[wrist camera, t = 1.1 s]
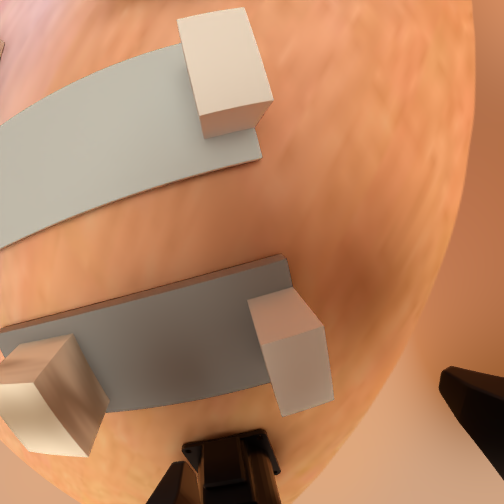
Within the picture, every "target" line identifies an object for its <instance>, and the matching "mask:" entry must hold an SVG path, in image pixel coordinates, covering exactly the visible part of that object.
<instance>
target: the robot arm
mask: <svg viewBox="0 0 504 504" xmlns="http://www.w3.org/2000/svg"><path fill="white" fill-rule="evenodd" d="M439 391H440V393H441V395H442V397H443V398H444V400H445V401H446V403H447V404H448V406H449V407H450V409H451V411H452V412H453V414H454V416H455V417H456V418H457V420H458V421H459V423H460V424H461V425H462V427H463V428H464V429H465V430H466V432H467V433H468V434H469V435H470V437H471V438H472V439H473V440H474V442H475V443H476V444H477V446H478V447H479V448H480V449H481V450H482V452H483V453H484V455H485V456H486V457H487V459H488V460H489V461H490V463H491V464H492V465H493V467H494V468H495V469H496V471H497V472H498V473H499V475H500V476H501V477H502V479H503V480H504V377H499V376H494V375H489V374H484V373H480V372H476V371H471V370H467V369H462V368H458V367H454V366H450V367H448V368H446V369H444V370H443V371H442V372H441V376H440V382H439ZM182 452H183V454H184V455H185V457H186V458H187V459H188V461H189V462H190V463H191V465H192V466H193V467H194V469H195V470H196V471H197V473H198V483H197V478H196V475H195V473H194V472H193V470H192V469H191V468H190V466H189V465H188V464H187V463H186V462H185V461H178V462H173V463H172V464H171V466H170V467H169V469H168V470H167V472H166V474H165V475H164V477H163V478H162V480H161V481H160V483H159V484H158V486H157V487H156V489H155V490H154V492H153V493H152V495H151V496H150V498H149V499H148V501H147V502H146V504H281V500H280V497H279V493H278V489H277V485H276V481H275V477H274V475H277V474H279V473H280V472H281V470H280V467H279V464H278V462H277V459H276V457H275V454H274V451H273V449H272V446H271V444H270V441H269V439H268V436H267V433H266V431H264V430H256V431H252V432H248V433H244V434H239V435H234V436H230V437H225V438H220V439H214V440H208V441H203V442H196V443H190V444H184V445H183V446H182Z"/></svg>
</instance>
